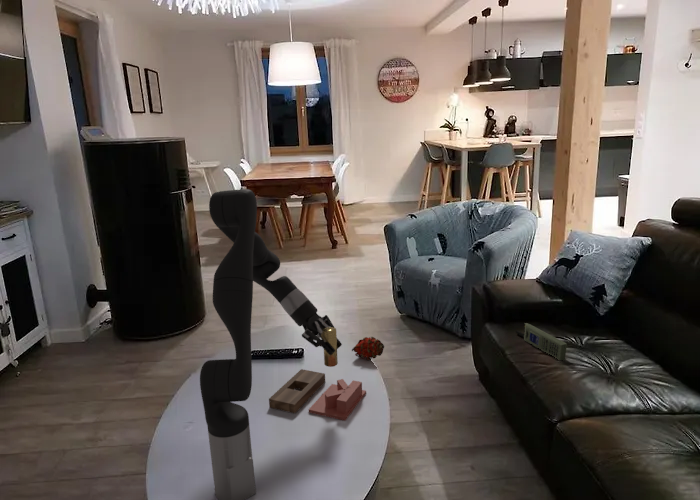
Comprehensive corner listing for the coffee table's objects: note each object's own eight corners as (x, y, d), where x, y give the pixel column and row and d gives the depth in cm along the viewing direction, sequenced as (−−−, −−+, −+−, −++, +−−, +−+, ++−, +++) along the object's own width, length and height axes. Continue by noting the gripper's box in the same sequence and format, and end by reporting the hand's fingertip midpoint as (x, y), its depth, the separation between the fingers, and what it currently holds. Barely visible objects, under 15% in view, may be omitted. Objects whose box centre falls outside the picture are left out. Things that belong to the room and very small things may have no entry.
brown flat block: (269, 407, 152) (268, 398, 151) (301, 377, 170) (301, 369, 169) (295, 413, 148) (294, 404, 148) (325, 381, 166) (324, 373, 165)
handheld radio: (559, 362, 175) (512, 335, 197) (566, 360, 176) (519, 334, 198) (561, 344, 173) (514, 319, 196) (568, 343, 174) (521, 318, 197)
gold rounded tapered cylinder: (340, 363, 151) (338, 329, 148) (329, 368, 148) (328, 333, 146) (332, 359, 154) (330, 326, 151) (321, 363, 151) (320, 329, 149)
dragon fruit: (387, 361, 182) (355, 367, 182) (383, 341, 187) (352, 346, 188) (385, 351, 175) (351, 356, 176) (381, 330, 181) (349, 335, 181)
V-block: (308, 412, 149) (307, 397, 148) (332, 386, 163) (331, 372, 162) (345, 420, 144) (344, 405, 143) (366, 393, 158) (365, 379, 157)
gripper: (294, 307, 143) (334, 353, 141) (316, 292, 155) (353, 333, 154) (279, 322, 146) (318, 367, 144) (302, 306, 159) (338, 347, 157)
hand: (336, 349), depth 149 cm, fingers closed on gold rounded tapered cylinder, 4 cm apart
